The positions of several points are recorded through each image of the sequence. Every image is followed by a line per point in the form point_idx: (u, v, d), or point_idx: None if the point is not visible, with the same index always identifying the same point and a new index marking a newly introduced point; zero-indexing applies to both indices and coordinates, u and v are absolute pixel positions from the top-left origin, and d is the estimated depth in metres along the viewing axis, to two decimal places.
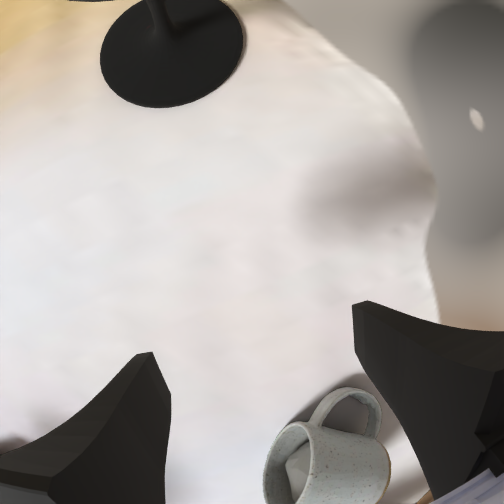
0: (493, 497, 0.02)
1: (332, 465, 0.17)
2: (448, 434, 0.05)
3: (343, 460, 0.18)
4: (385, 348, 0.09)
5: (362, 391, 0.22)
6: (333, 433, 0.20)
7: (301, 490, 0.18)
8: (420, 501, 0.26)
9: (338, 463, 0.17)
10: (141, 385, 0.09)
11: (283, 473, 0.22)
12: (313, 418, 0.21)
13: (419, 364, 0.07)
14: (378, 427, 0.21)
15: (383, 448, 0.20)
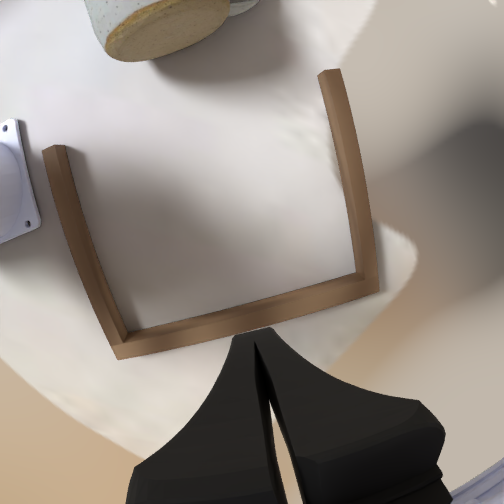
0: (492, 497, 0.02)
1: None
2: (301, 491, 0.05)
3: None
4: (269, 383, 0.08)
5: None
6: None
7: None
8: (152, 328, 0.21)
9: None
10: (257, 364, 0.09)
11: None
12: None
13: (280, 410, 0.07)
14: (242, 3, 0.14)
15: (229, 2, 0.13)
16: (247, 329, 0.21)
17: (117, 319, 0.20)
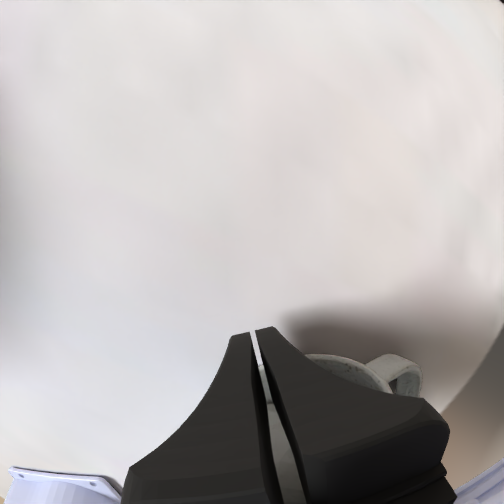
0: (493, 497, 0.02)
1: None
2: (305, 490, 0.05)
3: None
4: (272, 382, 0.08)
5: (421, 382, 0.14)
6: None
7: (291, 478, 0.09)
8: None
9: None
10: (254, 365, 0.09)
11: None
12: None
13: (284, 409, 0.07)
14: None
15: None
16: None
17: None
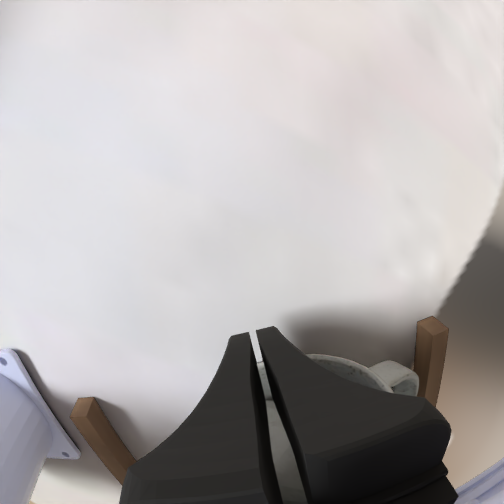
0: (493, 497, 0.02)
1: None
2: (306, 490, 0.05)
3: None
4: (273, 382, 0.08)
5: (417, 391, 0.14)
6: None
7: (290, 477, 0.09)
8: None
9: None
10: (253, 365, 0.09)
11: None
12: None
13: (285, 409, 0.07)
14: None
15: None
16: None
17: None
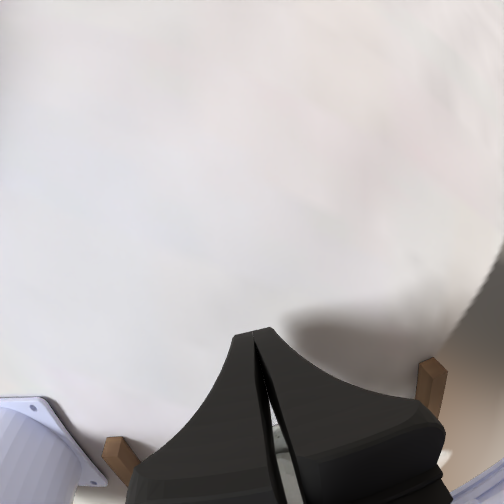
0: (492, 497, 0.02)
1: None
2: (301, 491, 0.05)
3: None
4: (269, 383, 0.08)
5: None
6: None
7: None
8: None
9: None
10: (257, 364, 0.09)
11: None
12: None
13: (280, 410, 0.07)
14: None
15: None
16: None
17: None
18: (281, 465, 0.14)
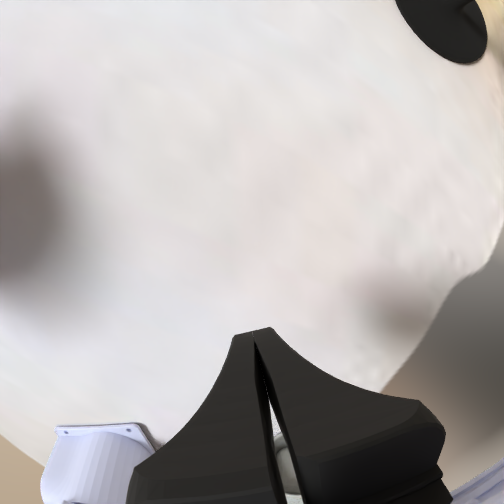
0: (492, 497, 0.02)
1: None
2: (301, 491, 0.05)
3: None
4: (269, 383, 0.08)
5: None
6: None
7: None
8: None
9: None
10: (257, 364, 0.09)
11: None
12: None
13: (280, 410, 0.07)
14: None
15: None
16: None
17: None
18: (287, 454, 0.24)
